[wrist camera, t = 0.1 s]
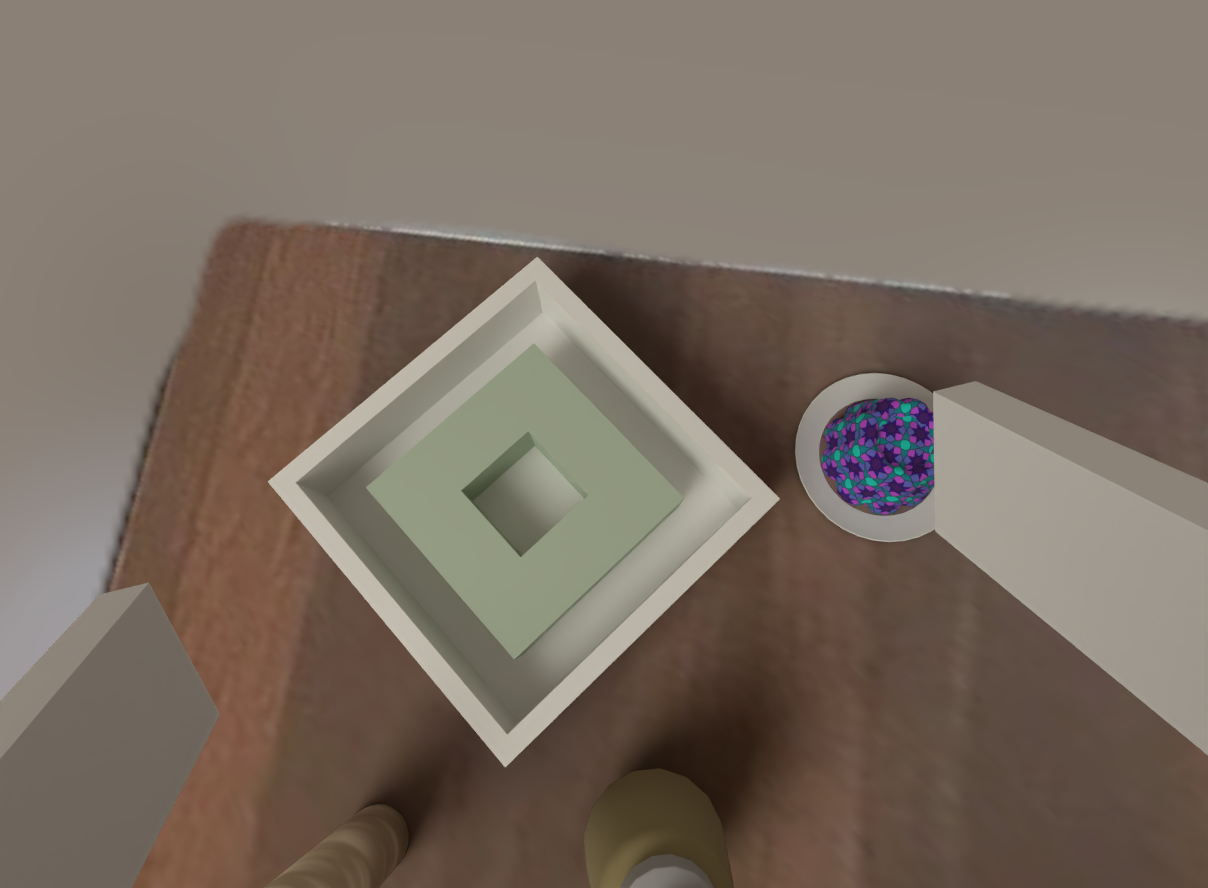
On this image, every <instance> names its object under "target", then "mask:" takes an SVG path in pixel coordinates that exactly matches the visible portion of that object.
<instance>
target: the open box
mask: <svg viewBox="0 0 1208 888" xmlns="http://www.w3.org/2000/svg"><path fill="white" fill-rule="evenodd" d="M533 343H534V344H535V345H536V346H537V347H538V348H539V349H540V350H541V351H542V352H543V353H544V354H545V355H546V356H547V357H548V358H549V359H550V360H551V361H552V362H553V363H554V364H555V365H556V366H557V367H558V368H559V370H560V371H561V372H562V373H563V374H564V375H565V376H566V377H567V378H568V379H569V380H570V381H571V382H572V383H573V384H574V385H575V386H576V387H577V388H578V389H579V390H580V391H581V392H582V393H583V394H584V395H585V396H586V397H587V398H588V399H589V400H590V401H591V403H592V404H593V405H594V406H595V407H596V408H597V409H598V410H599V411H600V412H601V413H602V414H603V415H604V416H605V417H606V418H607V419H608V420H609V421H610V422H611V423H612V424H613V425H614V426H615V427H616V428H617V429H618V430H619V431H620V432H621V433H622V434H623V435H624V437H625V438H626V439H627V440H628V441H629V442H630V443H631V444H632V445H633V446H634V447H635V448H636V449H637V450H638V451H639V452H640V453H641V454H642V455H643V456H644V457H645V458H646V459H647V460H648V461H649V462H650V463H651V464H652V465H653V466H654V467H655V468H656V470H657V471H658V472H659V473H660V474H661V475H662V476H663V477H664V478H665V479H666V480H667V481H668V482H669V483H670V484H671V485H672V486H673V487H674V488H675V489H676V490H677V491H678V492H679V493H680V494H681V495H682V496H683V497H684V500H683V501H682V503H681V504H680V506H679V507H678V508H677V509H676V510H675V511H674V512H673V513H672V514H671V515H670V516H669V517H668V518H667V519H666V520H665V521H663V522H662V523H661V524H660V525H659V526H658V527H657V528H656V529H655V530H654V531H653V532H652V533H651V534H650V535H649V536H648V537H647V538H646V539H644V540H643V541H642V542H641V543H640V544H639V545H638V546H637V547H636V548H635V549H634V550H633V551H632V552H631V553H630V554H629V555H628V556H627V557H626V558H624V559H623V560H622V561H621V562H620V563H619V564H618V565H617V566H616V567H615V568H614V569H613V570H612V571H611V572H610V573H609V574H608V575H607V576H605V577H604V578H603V579H602V580H601V581H600V582H599V583H598V584H597V585H596V586H595V587H594V588H593V589H592V590H591V591H590V592H589V593H588V594H587V595H585V596H584V597H583V598H582V599H581V600H580V601H579V602H578V603H577V604H576V605H575V606H574V607H573V608H572V609H571V610H570V611H569V612H568V613H567V614H565V615H564V616H563V617H562V618H561V619H560V620H559V621H558V622H557V623H556V624H555V625H554V626H553V627H552V628H551V629H550V630H549V631H548V632H546V633H545V634H544V635H543V636H542V637H541V638H540V639H539V640H538V641H537V642H536V643H535V644H534V645H533V646H532V647H531V648H530V649H529V650H528V651H526V652H525V653H524V654H523V655H522V656H520V657H518V658H516V659H513V658H512V656H511V655H510V654H509V653H508V652H507V651H506V650H505V648H504V647H503V646H502V645H501V644H500V643H499V641H498V640H497V639H496V638H495V637H494V636H493V634H492V633H491V632H490V631H489V630H488V629H487V628H486V626H485V625H484V624H483V623H482V622H481V621H480V619H479V618H478V617H477V616H476V615H475V614H474V612H473V611H472V610H471V609H470V608H469V607H468V605H467V604H466V603H465V602H464V601H463V600H462V599H461V597H460V596H459V595H458V594H457V593H456V592H455V590H454V589H453V588H452V587H451V586H450V585H449V583H448V582H447V581H446V580H445V579H444V578H443V577H442V575H441V574H440V573H439V572H438V571H437V570H436V568H435V567H434V566H433V565H432V564H431V563H430V561H429V560H428V559H427V558H426V557H425V556H424V555H423V553H422V552H421V551H420V550H419V549H418V548H417V546H416V545H415V544H414V543H413V542H412V541H411V539H410V538H409V537H408V536H407V535H406V534H405V532H404V531H403V530H402V529H401V528H400V527H399V526H398V524H397V523H396V522H395V521H394V520H393V519H392V517H391V516H390V515H389V514H388V513H387V512H386V510H385V509H384V508H383V507H382V506H381V505H380V504H379V502H378V501H377V500H376V499H375V498H374V497H373V495H372V494H371V493H370V492H369V491H368V490H367V488H366V487H367V486H368V485H369V484H370V483H372V482H373V481H374V480H375V479H376V478H377V477H379V476H380V475H381V474H382V473H383V472H384V471H386V470H387V469H388V468H389V467H390V466H391V465H393V464H394V463H395V462H396V461H397V460H398V459H400V458H401V457H402V456H403V455H404V454H405V453H407V452H408V451H409V450H410V449H411V448H412V447H414V446H415V445H416V444H417V443H418V442H419V441H421V440H422V439H423V438H424V437H425V436H426V435H427V434H429V433H430V432H431V431H432V430H433V429H434V428H436V427H437V426H438V425H439V424H440V423H441V422H443V421H444V420H445V419H446V418H447V417H448V416H450V415H451V414H452V413H453V412H454V411H455V410H457V409H458V408H459V407H460V406H461V405H462V404H464V403H465V402H466V401H467V400H468V399H469V398H471V397H472V396H473V395H474V394H475V393H476V392H478V391H479V390H480V389H481V388H482V387H483V386H485V385H486V384H487V383H488V382H489V381H490V380H492V379H493V378H494V377H495V376H496V375H497V374H498V373H500V372H501V371H502V370H503V369H504V368H505V367H507V366H508V365H509V364H510V363H511V362H512V361H514V360H515V359H516V358H517V357H518V356H519V355H521V354H522V353H523V352H524V351H525V350H526V349H528V348H529V347H530V346H531V345H532V344H533ZM268 482H269V484H270V485H271V486H272V487H273V488H274V490H275V491H276V492H277V493H278V495H279V496H280V497H281V498H282V499H283V501H284V502H285V503H286V504H287V505H288V507H289V508H290V509H291V510H292V511H293V513H294V514H295V515H296V516H297V517H298V519H299V520H300V521H301V522H302V523H303V525H304V526H305V527H306V528H307V529H308V531H309V532H310V533H311V534H312V535H313V537H314V538H315V539H316V540H317V541H318V543H319V544H320V545H321V546H322V547H323V549H324V550H325V551H326V552H327V554H328V555H329V556H330V557H331V558H332V560H333V561H334V562H335V563H336V564H337V566H338V567H339V568H340V569H341V570H342V572H343V573H344V574H345V575H346V576H347V578H348V579H349V580H350V581H351V582H352V584H353V585H354V586H355V587H356V588H357V590H358V591H359V592H360V593H361V594H362V596H363V597H364V598H365V599H366V600H367V602H368V603H369V604H370V605H371V606H372V608H373V609H374V610H375V611H376V612H377V614H378V615H379V616H380V617H381V619H382V620H383V621H384V622H385V623H386V625H387V626H388V627H389V628H390V629H391V631H392V632H393V633H394V634H395V635H396V637H397V638H398V639H399V640H400V641H401V643H402V644H403V645H404V646H405V647H406V649H407V650H408V651H409V652H410V653H411V655H412V656H413V657H414V658H415V659H416V661H417V662H418V663H419V664H420V665H421V667H422V668H423V669H424V670H425V671H426V673H427V674H428V675H429V676H430V678H431V679H432V680H433V681H434V682H435V684H436V685H437V686H438V687H439V688H440V690H441V691H442V692H443V693H444V694H445V696H446V697H447V698H448V699H449V700H450V702H451V703H452V704H453V705H454V706H455V708H456V709H457V710H458V711H459V712H460V714H461V715H462V716H463V717H464V718H465V720H466V721H467V722H468V723H469V724H470V726H471V727H472V728H473V729H474V730H475V732H476V733H477V734H478V735H479V736H480V738H481V739H482V740H483V741H484V743H485V744H486V745H487V746H488V747H489V749H490V750H491V751H492V752H493V753H494V755H495V756H496V757H497V758H498V759H499V761H500V762H501V763H502V764H503V765H504V767H506V766H507V765H508V764H509V763H510V762H511V761H512V760H513V759H514V758H515V757H516V756H517V755H518V754H519V753H520V752H521V751H523V750H524V749H525V748H526V747H527V746H528V745H529V744H530V743H531V742H532V741H533V740H534V739H535V738H536V737H537V736H538V735H539V734H540V733H541V732H542V731H543V730H544V729H545V728H546V727H547V726H548V725H549V724H550V723H551V722H552V721H553V720H554V719H555V718H556V717H557V716H558V715H559V714H560V713H561V712H562V711H563V710H564V709H565V708H567V707H568V706H569V705H570V704H571V703H572V702H573V701H574V700H575V699H576V698H577V697H578V696H579V695H580V694H581V693H582V692H583V691H584V690H585V689H586V688H587V687H588V686H589V685H590V684H591V683H592V682H593V681H594V680H595V679H596V678H597V677H598V676H599V675H600V674H601V673H602V672H603V671H604V670H605V669H606V668H607V667H608V666H609V665H611V664H612V663H613V662H614V661H615V660H616V659H617V658H618V657H619V656H620V655H621V654H622V653H623V652H624V651H625V650H626V649H627V648H628V647H629V646H630V645H631V644H632V643H633V642H634V641H635V640H636V639H637V638H638V637H639V636H640V635H641V634H642V633H643V632H644V631H645V630H646V629H647V628H648V627H649V626H650V625H651V624H652V623H653V622H655V621H656V620H657V619H658V618H659V617H660V616H661V615H662V614H663V613H664V612H665V611H666V610H667V609H668V608H669V607H670V606H671V605H672V604H673V603H674V602H675V601H676V600H677V599H678V598H679V597H680V596H681V595H682V594H683V593H684V592H685V591H686V590H687V589H688V588H689V587H690V586H691V585H692V584H693V583H694V582H695V581H696V580H697V579H699V578H700V577H701V576H702V575H703V574H704V573H705V572H706V571H707V570H708V569H709V568H710V567H711V566H712V565H713V564H714V563H715V562H716V561H717V560H718V559H719V558H720V557H721V556H722V555H723V554H724V553H725V552H726V551H727V550H728V549H729V548H730V547H731V546H732V545H733V544H734V543H735V542H736V541H737V540H738V539H739V538H740V537H741V536H743V535H744V534H745V533H746V532H747V531H748V530H749V529H750V528H751V527H752V526H753V525H754V524H755V523H756V522H757V521H758V520H759V519H760V518H761V517H762V516H763V515H764V514H765V513H766V512H767V511H768V510H769V509H770V508H771V507H772V506H773V505H774V504H775V503H776V502H777V501H778V500H779V499H780V498H779V497H778V496H777V495H776V494H775V493H774V492H773V491H772V490H771V489H770V488H769V487H768V486H767V485H766V484H765V483H764V482H763V481H762V480H761V479H760V478H759V477H758V476H757V475H756V474H755V473H754V472H753V471H752V470H751V469H750V468H749V467H748V466H747V465H746V464H745V463H744V462H743V461H742V460H741V459H740V458H739V457H738V456H737V455H736V454H735V453H734V452H733V451H732V450H731V449H730V448H729V447H728V446H727V445H726V444H725V443H724V442H723V441H722V440H721V439H720V438H719V437H718V436H717V435H716V434H715V433H714V432H713V431H712V430H711V429H710V428H709V427H708V426H707V425H706V424H705V423H704V422H703V421H702V420H701V419H700V418H699V417H698V416H697V415H696V414H695V413H694V412H693V411H691V410H690V409H689V408H688V407H687V406H686V405H685V404H684V403H683V402H682V401H681V400H680V399H679V398H678V397H677V396H676V395H675V394H674V393H673V392H672V391H671V390H670V389H669V388H668V387H667V386H666V385H665V384H664V383H663V382H662V381H661V380H660V379H659V378H658V377H657V376H656V375H655V374H654V373H653V372H652V371H651V370H650V369H649V368H648V367H647V366H646V365H645V364H644V363H643V362H642V361H641V360H640V359H639V358H638V357H637V356H636V355H635V354H634V353H633V352H632V351H631V350H630V349H629V348H628V347H627V346H626V345H625V344H624V343H623V342H622V341H621V340H620V339H619V338H618V337H617V336H616V335H615V334H614V333H613V332H612V331H611V330H610V329H609V328H608V327H607V326H606V325H605V324H604V323H603V322H602V321H601V320H600V319H599V318H598V317H597V316H596V315H595V314H594V313H593V312H592V311H591V310H590V309H589V308H588V307H587V306H586V305H585V304H584V303H583V302H582V301H581V300H580V299H579V298H578V297H577V296H576V295H575V294H574V293H573V292H572V291H571V290H570V289H569V288H568V287H567V286H566V285H565V284H564V283H563V282H562V281H561V280H560V279H559V278H558V277H557V276H556V275H555V274H554V273H553V272H552V271H551V270H550V269H549V268H548V267H547V266H546V265H545V264H544V263H543V262H542V261H541V260H540V259H539V258H538V257H536V258H535V259H534V260H533V261H532V262H530V263H529V264H528V265H527V266H526V267H524V268H523V269H522V270H521V271H520V272H518V273H517V274H516V275H515V276H514V277H512V278H511V279H510V280H509V281H508V282H506V283H505V284H504V285H503V286H502V287H500V288H499V289H498V290H497V291H496V292H494V293H493V294H492V295H491V296H490V297H489V298H487V299H486V300H485V301H484V302H483V303H481V304H480V305H479V306H478V307H477V308H475V309H474V310H473V311H472V312H471V313H469V314H468V315H467V316H466V317H465V318H463V319H462V320H461V321H460V322H459V323H457V324H456V325H455V326H454V327H453V328H451V329H450V330H449V331H448V332H447V333H445V334H444V335H443V336H442V337H441V338H439V339H438V340H437V341H436V342H435V343H433V344H432V345H431V346H430V347H429V348H427V349H426V350H425V351H424V352H423V353H421V354H420V355H419V356H418V357H417V358H415V359H414V360H413V361H412V362H411V363H409V364H408V365H407V366H406V367H405V368H403V369H402V370H401V371H400V372H399V373H397V374H396V375H395V376H394V377H393V378H391V379H390V380H389V381H388V382H387V383H385V384H384V385H383V386H382V387H381V388H379V389H378V390H377V391H376V392H375V393H373V394H372V395H371V396H370V397H369V398H367V399H366V400H365V401H364V402H363V403H361V404H360V405H359V406H358V407H357V408H355V409H354V410H353V411H352V412H351V413H349V414H348V415H347V416H346V417H345V418H343V419H342V420H341V421H340V422H339V423H337V424H336V425H335V426H334V427H333V428H331V429H330V430H329V431H328V432H327V433H325V434H324V435H323V436H322V437H321V438H319V439H318V440H317V441H316V442H315V443H313V444H312V445H311V446H310V447H309V448H307V449H306V450H305V451H304V452H303V453H302V454H300V455H299V456H298V457H297V458H296V459H294V460H293V461H292V462H291V463H290V464H288V465H287V466H286V467H285V468H284V469H282V470H281V471H280V472H279V473H278V474H276V475H275V476H274V477H273V478H272V479H270V480H269V481H268ZM582 500H584V498H583V497H582V496H581V494H580V493H579V492H578V491H577V490H576V489H575V488H574V487H573V486H572V485H571V484H570V483H569V482H568V481H567V480H566V478H565V477H564V476H563V475H562V474H561V473H560V472H559V471H558V470H557V469H556V468H555V467H554V466H553V465H552V463H551V462H550V461H549V460H548V459H547V458H546V457H545V456H544V455H543V454H542V453H541V452H540V451H539V450H538V449H537V447H536V446H534V447H533V448H532V449H531V450H529V451H528V452H527V453H526V454H525V455H524V456H523V457H522V458H520V459H519V460H518V461H517V462H516V463H515V464H514V465H513V466H511V467H510V468H509V469H508V470H507V471H506V472H505V473H504V474H502V475H501V476H500V477H499V478H498V479H497V480H496V481H495V482H494V483H492V484H491V485H490V486H489V487H488V488H487V489H486V490H485V491H483V492H482V493H481V494H480V495H479V496H478V497H477V498H476V499H474V500H473V501H474V502H475V503H476V505H477V506H478V507H479V508H480V509H481V510H482V511H483V512H484V513H485V515H486V516H487V517H488V518H489V519H490V520H491V521H492V522H493V524H494V525H495V526H496V527H497V528H498V529H499V530H500V531H501V532H502V534H503V535H504V536H505V537H506V538H507V539H508V540H509V541H510V542H511V544H512V545H513V546H514V547H515V548H516V549H517V550H518V551H519V553H520V554H521V555H522V556H523V555H524V554H525V553H526V552H527V551H528V550H529V549H530V548H531V547H532V546H533V545H535V544H536V543H537V542H538V541H539V540H540V539H541V538H542V537H543V536H544V535H545V534H547V533H548V532H549V531H550V530H551V529H552V528H553V527H554V526H555V525H556V524H557V523H559V522H560V521H561V520H562V519H563V518H564V517H565V516H566V515H567V514H568V513H569V512H570V511H572V510H573V509H574V508H575V507H576V506H577V505H578V504H579V503H580V502H581V501H582Z"/></svg>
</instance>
